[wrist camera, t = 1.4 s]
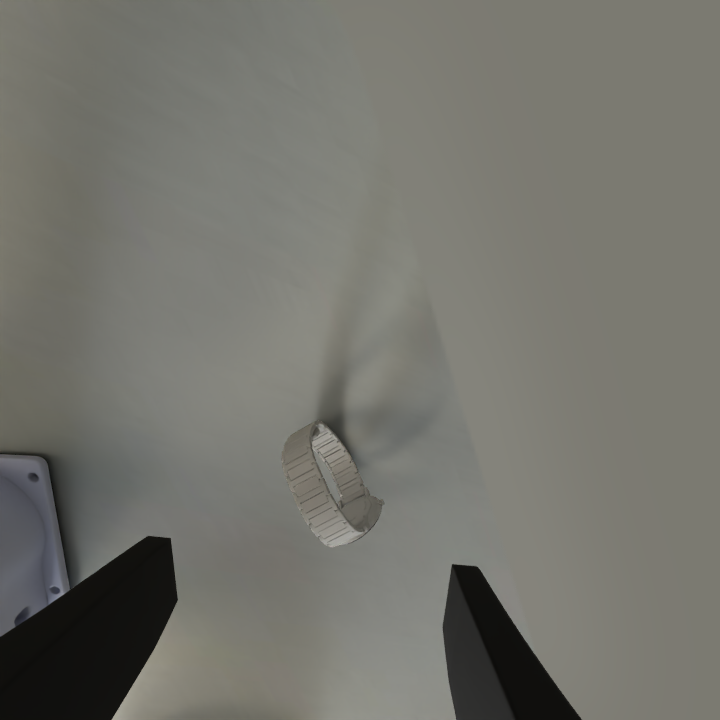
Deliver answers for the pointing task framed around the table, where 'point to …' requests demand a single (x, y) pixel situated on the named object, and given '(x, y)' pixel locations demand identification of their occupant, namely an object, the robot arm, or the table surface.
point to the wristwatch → (322, 508)
